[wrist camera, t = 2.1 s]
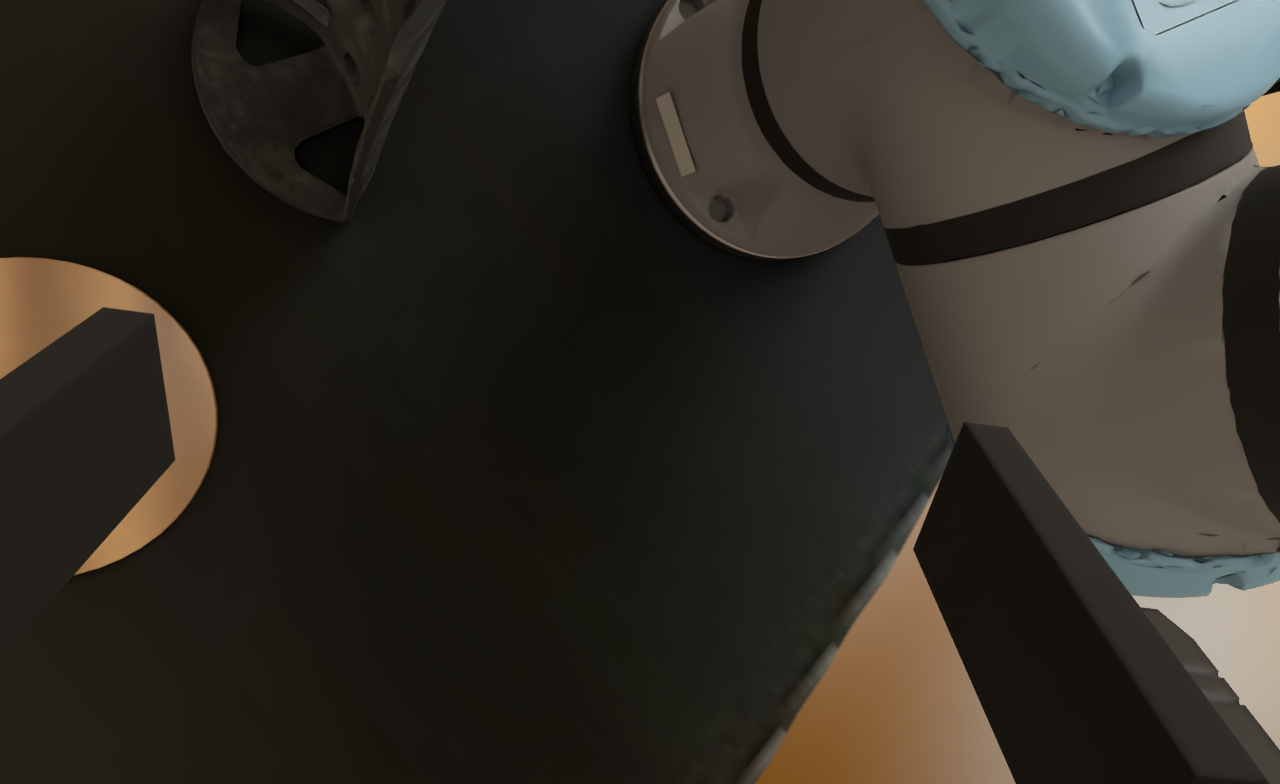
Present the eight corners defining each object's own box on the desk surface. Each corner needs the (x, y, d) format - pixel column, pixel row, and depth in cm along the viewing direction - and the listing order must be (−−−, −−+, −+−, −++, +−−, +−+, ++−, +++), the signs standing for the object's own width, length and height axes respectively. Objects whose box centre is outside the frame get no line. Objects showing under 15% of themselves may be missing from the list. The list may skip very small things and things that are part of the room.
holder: (125, 17, 33) (-24, -403, 15) (290, -58, 36) (329, -496, 18) (298, 252, 36) (343, 131, 18) (439, 167, 39) (603, -13, 21)
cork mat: (179, 237, 35) (177, 235, 34) (248, 532, 37) (247, 535, 36) (-208, 285, 31) (-217, 284, 30) (-110, 616, 32) (-117, 620, 32)
